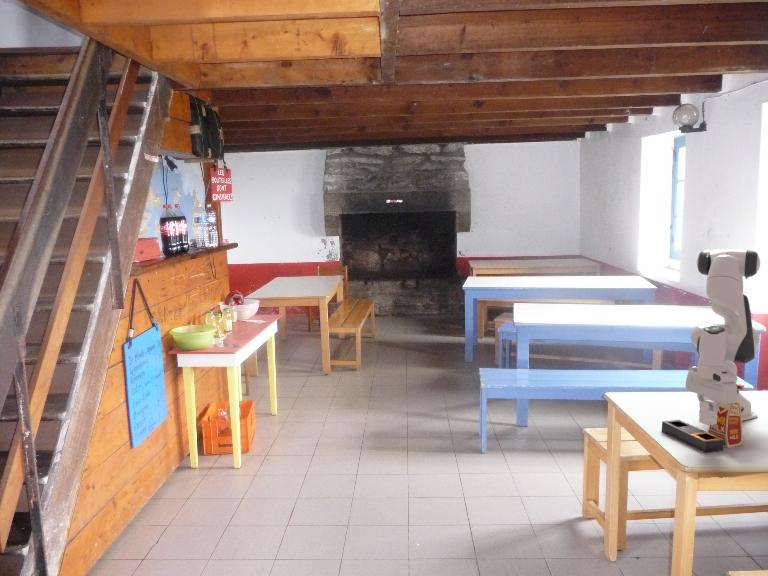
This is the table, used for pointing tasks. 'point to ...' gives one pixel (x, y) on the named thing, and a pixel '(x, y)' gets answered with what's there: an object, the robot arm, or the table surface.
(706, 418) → the grey square block
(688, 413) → the table surface
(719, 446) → the box with square holes
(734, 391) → the robot arm
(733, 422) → the milk carton
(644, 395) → the table surface
